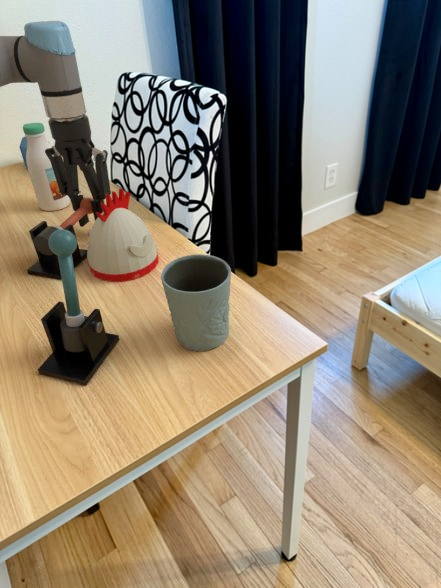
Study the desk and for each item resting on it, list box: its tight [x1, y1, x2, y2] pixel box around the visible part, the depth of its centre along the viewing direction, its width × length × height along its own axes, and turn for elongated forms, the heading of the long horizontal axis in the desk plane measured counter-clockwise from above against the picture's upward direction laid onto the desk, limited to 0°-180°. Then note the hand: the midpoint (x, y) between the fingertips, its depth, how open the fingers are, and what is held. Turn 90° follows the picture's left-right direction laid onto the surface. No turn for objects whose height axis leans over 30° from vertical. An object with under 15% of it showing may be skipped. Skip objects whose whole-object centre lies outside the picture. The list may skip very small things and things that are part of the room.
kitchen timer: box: [86, 188, 159, 283], centre depth 83 cm, size 14×14×15 cm
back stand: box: [26, 220, 87, 281], centre depth 85 cm, size 10×8×8 cm
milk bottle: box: [22, 122, 71, 212], centre depth 105 cm, size 8×8×20 cm
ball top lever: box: [48, 229, 88, 352], centre depth 61 cm, size 18×4×4 cm
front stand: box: [37, 300, 120, 386], centre depth 64 cm, size 10×8×8 cm
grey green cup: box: [160, 253, 232, 352], centre depth 66 cm, size 10×10×12 cm
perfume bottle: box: [19, 123, 51, 168], centre depth 131 cm, size 6×6×12 cm
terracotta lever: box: [33, 196, 93, 256], centre depth 89 cm, size 18×4×4 cm, turn 162°
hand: (92, 224), depth 97 cm, fingers closed on terracotta lever, 4 cm apart
